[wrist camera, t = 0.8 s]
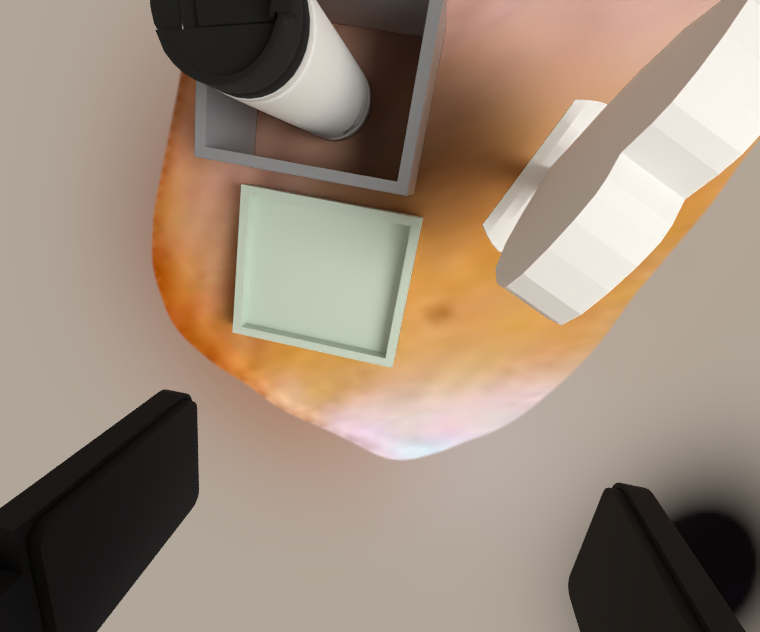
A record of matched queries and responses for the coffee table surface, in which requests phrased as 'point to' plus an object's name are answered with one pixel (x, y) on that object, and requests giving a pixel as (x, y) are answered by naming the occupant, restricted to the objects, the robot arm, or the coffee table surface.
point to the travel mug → (269, 59)
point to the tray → (323, 273)
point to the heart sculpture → (629, 166)
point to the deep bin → (237, 146)
